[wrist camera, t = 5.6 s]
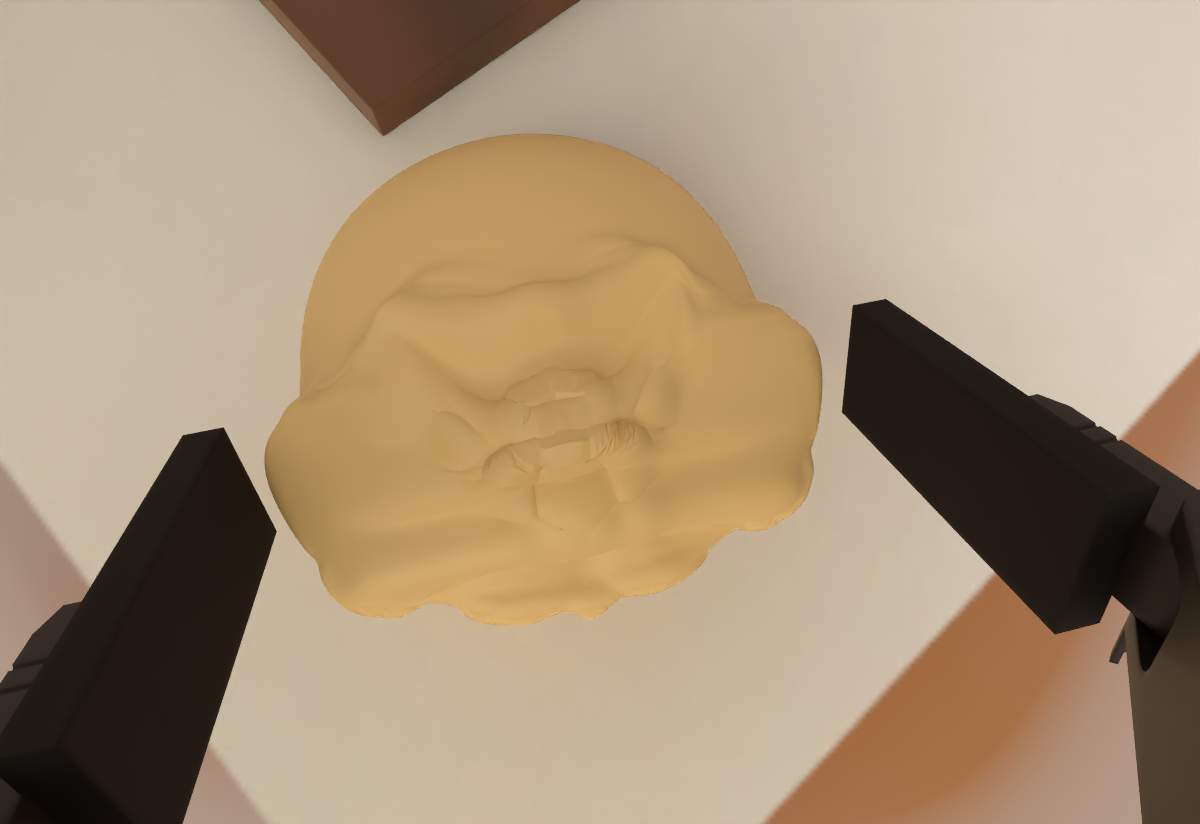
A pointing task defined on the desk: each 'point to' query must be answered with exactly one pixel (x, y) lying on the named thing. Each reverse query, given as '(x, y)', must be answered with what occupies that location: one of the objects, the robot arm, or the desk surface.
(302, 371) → the sculpture
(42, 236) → the desk surface
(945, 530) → the desk surface
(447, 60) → the cutting board
